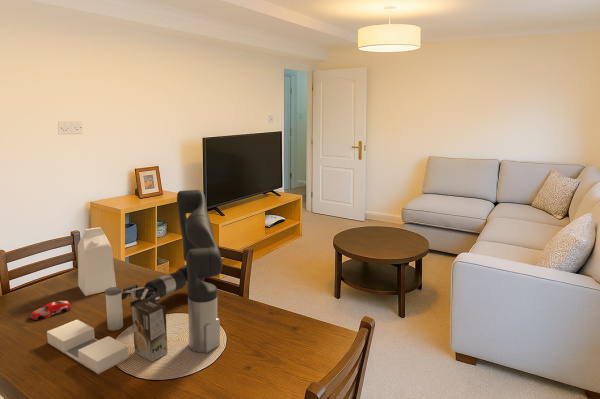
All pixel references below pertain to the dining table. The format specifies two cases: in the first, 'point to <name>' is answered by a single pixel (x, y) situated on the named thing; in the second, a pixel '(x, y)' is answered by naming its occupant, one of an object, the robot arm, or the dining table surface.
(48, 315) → the race car
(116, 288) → the grey-capped white cylinder
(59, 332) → the white block holder
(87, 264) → the milk
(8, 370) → the dining table surface
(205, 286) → the robot arm
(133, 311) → the coffee box
